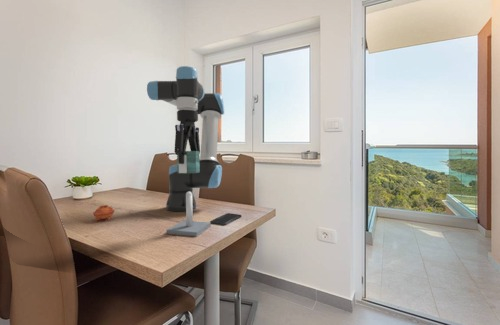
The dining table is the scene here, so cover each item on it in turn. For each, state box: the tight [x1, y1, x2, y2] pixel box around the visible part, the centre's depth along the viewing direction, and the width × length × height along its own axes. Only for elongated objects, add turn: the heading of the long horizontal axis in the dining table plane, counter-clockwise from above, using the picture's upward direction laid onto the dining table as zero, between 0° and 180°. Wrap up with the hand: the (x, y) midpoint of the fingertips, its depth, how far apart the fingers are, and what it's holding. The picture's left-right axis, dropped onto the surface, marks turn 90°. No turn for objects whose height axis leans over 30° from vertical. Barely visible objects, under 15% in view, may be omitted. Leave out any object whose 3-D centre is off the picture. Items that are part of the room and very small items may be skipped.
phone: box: [209, 212, 242, 226], centre depth 108 cm, size 8×1×15 cm
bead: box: [176, 150, 200, 174], centre depth 93 cm, size 8×8×8 cm
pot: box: [93, 204, 115, 222], centre depth 108 cm, size 8×8×7 cm
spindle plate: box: [166, 192, 211, 237], centre depth 94 cm, size 12×12×15 cm
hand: (188, 171), depth 93 cm, fingers closed on bead, 8 cm apart
